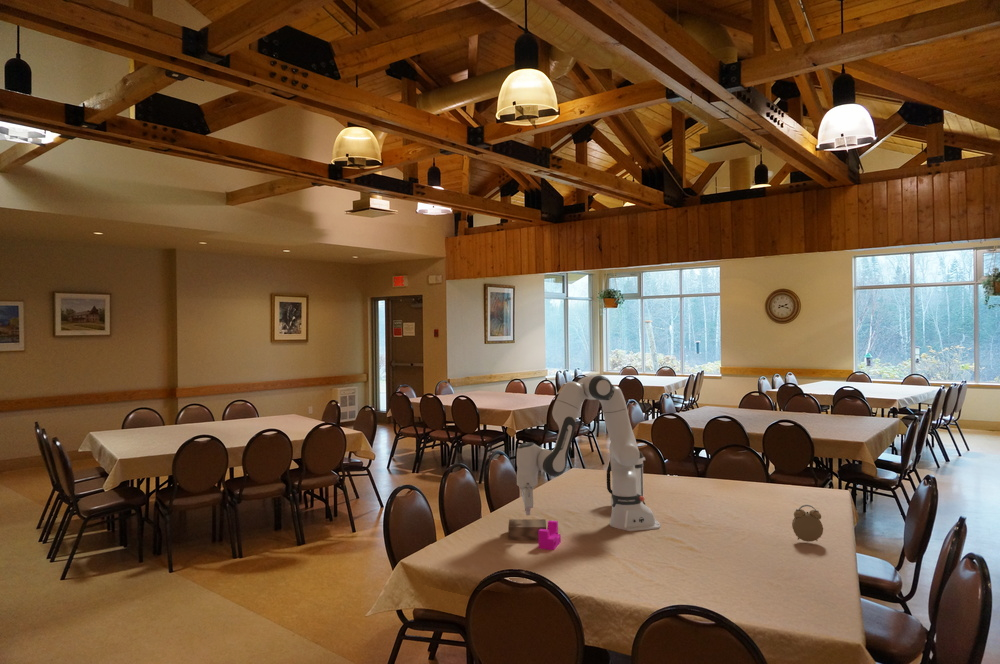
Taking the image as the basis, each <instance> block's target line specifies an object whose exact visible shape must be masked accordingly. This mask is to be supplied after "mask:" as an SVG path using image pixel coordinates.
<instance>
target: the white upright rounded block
mask: <svg viewBox="0 0 1000 664" xmlns="http://www.w3.org/2000/svg"><path fill="white" fill-rule="evenodd" d="M639 453H640V458H639V461H638V462H637V463H636V464H635V471H636V476H637V494H639V495H641V496H643V497H644V461H646V460H647V459H646V457H645V456H644V455H643V452H642V451H640V450H639ZM611 472H612V471H611V463H610V464H609V465H608V466H607V468H606V489H607V492H609V494H610V495H612V487H611V485H612V484H611V483H612V482H611ZM641 502H642V503H643V504H644V505H646V503H645V500H644V501H641Z"/></svg>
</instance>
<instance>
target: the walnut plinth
mask: <svg viewBox="0 0 1000 664" xmlns="http://www.w3.org/2000/svg"><path fill="white" fill-rule="evenodd" d="M540 529H547V522H546V519H544V518H543V519H539V518H537V519H530V518H529V519H508V528H507V530H508V540H509V541H539V532H538V531H539V530H540Z"/></svg>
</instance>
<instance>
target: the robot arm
mask: <svg viewBox="0 0 1000 664" xmlns="http://www.w3.org/2000/svg"><path fill="white" fill-rule="evenodd" d="M585 400H588V401H589V400H590V401H596V400H598V402H600V405H601V409H602V414H603V415H602V416H603V418H604V424H605V428H606V432H607V434H608V438H609V441H610V443H609V446H608V449H609V460H610V464H611V471H610V472H611V481H612V482H611V483H612V484H611V485H612V487H611V490H612V494H611V495H610V496H611V497H610V503H611V506H612V507H611V512H610V513H611V515H610V520H609V526H610V527H612V528H615V529H619V530H623V531H626V532H637V531H646V530H647V531H649V530H658V529H660V528H661V523H660V522H659V521H658V520H657V519H656V518H655V517H656V516H655V515H654V512H653V511H652V508H650V507H649V506H647V505H646V504H645V505H644V504H643V502H641V501H644V502H645V497H644V495H643V496H641V495H639V494H637V476H636V471H635V464H636V463H637V462H638V461H639V458H640V453H639V451H640V450H639V446H638V443H637V440H636V436H635V433H634V430H633V427H632V425H631V420H630V416H629V415H630V414H629V411H628V406H627V401H626V400H625V396H624V394H623V391H622V389H621V388H620V387H619V386H617V385H613V384H612V382H611V380H610V379H609V378H608V377H606V376H604V375H595V374H593V375H585V376H581V377H580V378H578V380H577V381H573V380H571V381H567V382H565V384H564V385H563V386H562V388H561V390H560V392H558V395H557V398H556V400H555V402H554V404H553V407H552V412H551V413H552V414H551V415H552V418H553V420H554V421H555V423H556V425H557V426H558V435H557V437H556V442H555V443H554V447H553V450H551V449H547V448H544V447H541V446H539V445H537V444H536V443H534V442H532V441H531V442H529V441H527V442H523V443H521V444H519V446H518V447H517V449H516V467H517V469H516V470H517V471H516V485H517V486H518V487H519V490H520V494H521V497H522V502H523V505H524V512H525V515H526V516H531V509H533V508H534V490H535V487H536V486H538V473H539V471H541V472H543V473H545V474H547V475H548V476H550V477H553V478H555V477H560V476H561V475H563V473H564V472H565V471H566V469H567V465H568V456H569V452H570V447H571V444H572V441H573V438H574V434H575V430H576V423H577V422H576V421H577V418H578V413H580V412H579V411H580V408H581V406H582V404H583V402H584V401H585Z"/></svg>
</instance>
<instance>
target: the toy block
mask: <svg viewBox="0 0 1000 664" xmlns="http://www.w3.org/2000/svg"><path fill="white" fill-rule="evenodd" d="M538 532H539V540H538V549H541V550H549V551H555V549H556V548H557V547H558V546H559V545H560V543H562V542H561V541H562V540H561V538H562V537H561V536H562V535H561V533H559V523H558V520H548V521H547V526H546V529H540V530H539V531H538Z"/></svg>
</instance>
